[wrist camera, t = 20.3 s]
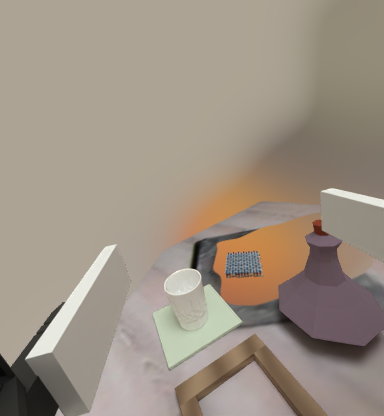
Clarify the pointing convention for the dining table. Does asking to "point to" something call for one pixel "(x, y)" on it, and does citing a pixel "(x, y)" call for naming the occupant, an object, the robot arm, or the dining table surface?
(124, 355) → the dining table surface
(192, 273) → the white cup
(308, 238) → the flask
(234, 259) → the woven mat
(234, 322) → the sage pad
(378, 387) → the dining table surface
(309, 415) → the brown square frame
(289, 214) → the dining table surface
